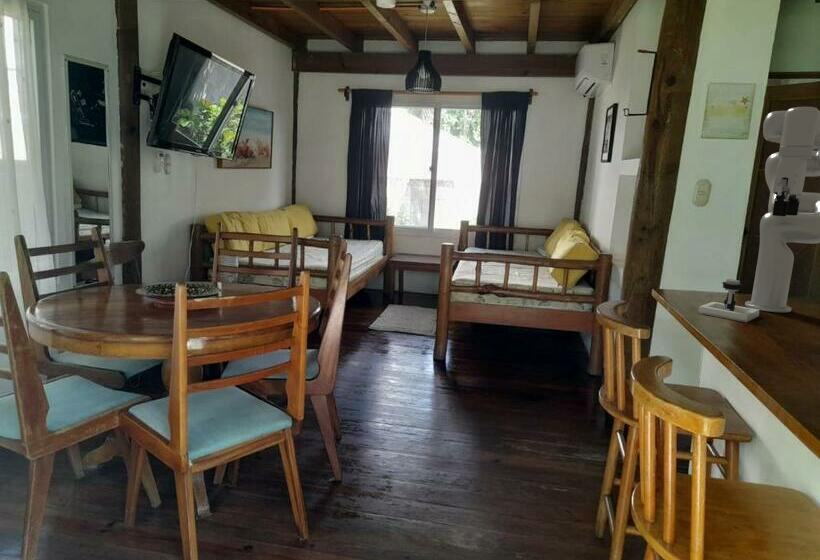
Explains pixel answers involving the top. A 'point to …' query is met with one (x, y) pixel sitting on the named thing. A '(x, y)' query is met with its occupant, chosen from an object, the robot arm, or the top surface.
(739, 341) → the top surface
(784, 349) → the top surface
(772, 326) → the top surface
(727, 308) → the push button
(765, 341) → the top surface
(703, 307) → the socket plate
